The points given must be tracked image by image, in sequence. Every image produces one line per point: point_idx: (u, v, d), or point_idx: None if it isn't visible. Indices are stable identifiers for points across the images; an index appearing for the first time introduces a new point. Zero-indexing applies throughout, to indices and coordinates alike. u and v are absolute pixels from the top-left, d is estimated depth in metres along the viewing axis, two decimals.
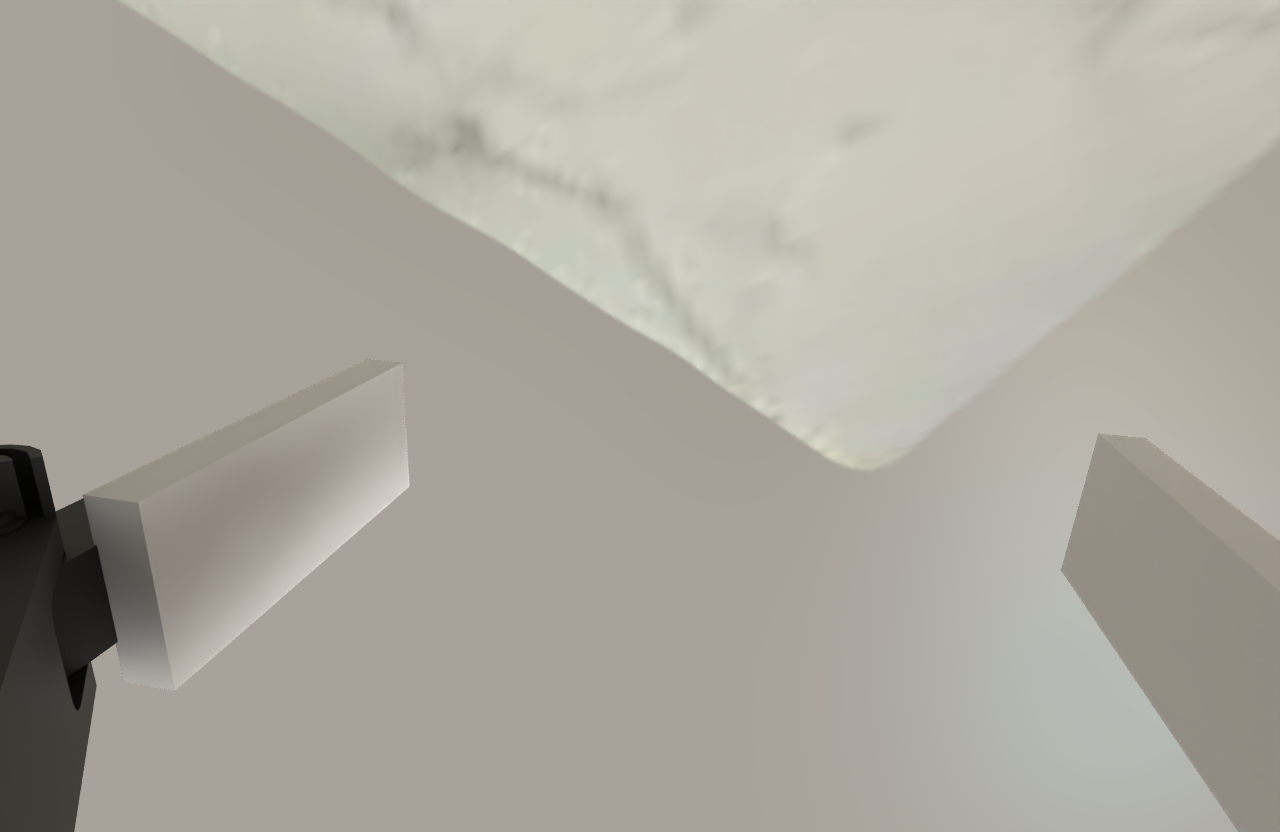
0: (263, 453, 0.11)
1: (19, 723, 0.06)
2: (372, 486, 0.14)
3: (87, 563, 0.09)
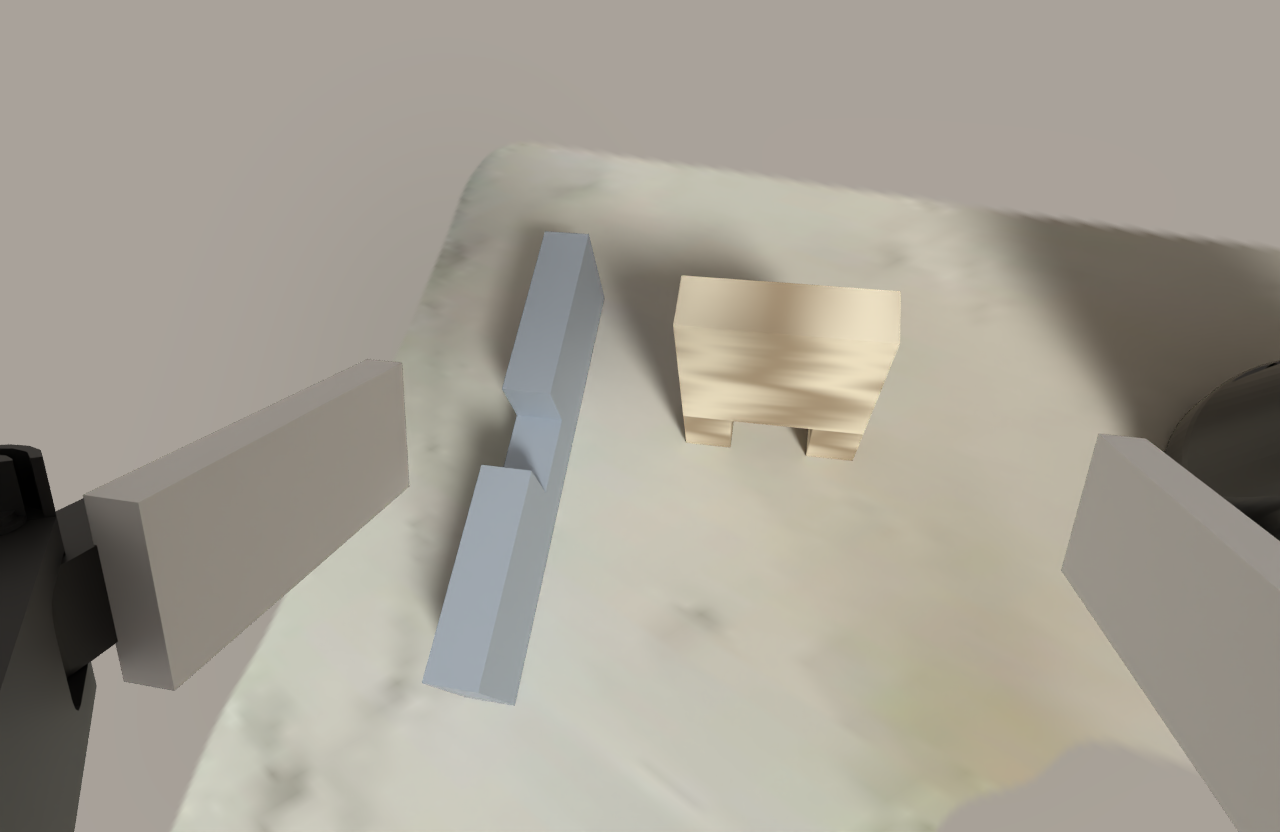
0: (263, 453, 0.11)
1: (18, 723, 0.06)
2: (372, 486, 0.14)
3: (87, 563, 0.09)
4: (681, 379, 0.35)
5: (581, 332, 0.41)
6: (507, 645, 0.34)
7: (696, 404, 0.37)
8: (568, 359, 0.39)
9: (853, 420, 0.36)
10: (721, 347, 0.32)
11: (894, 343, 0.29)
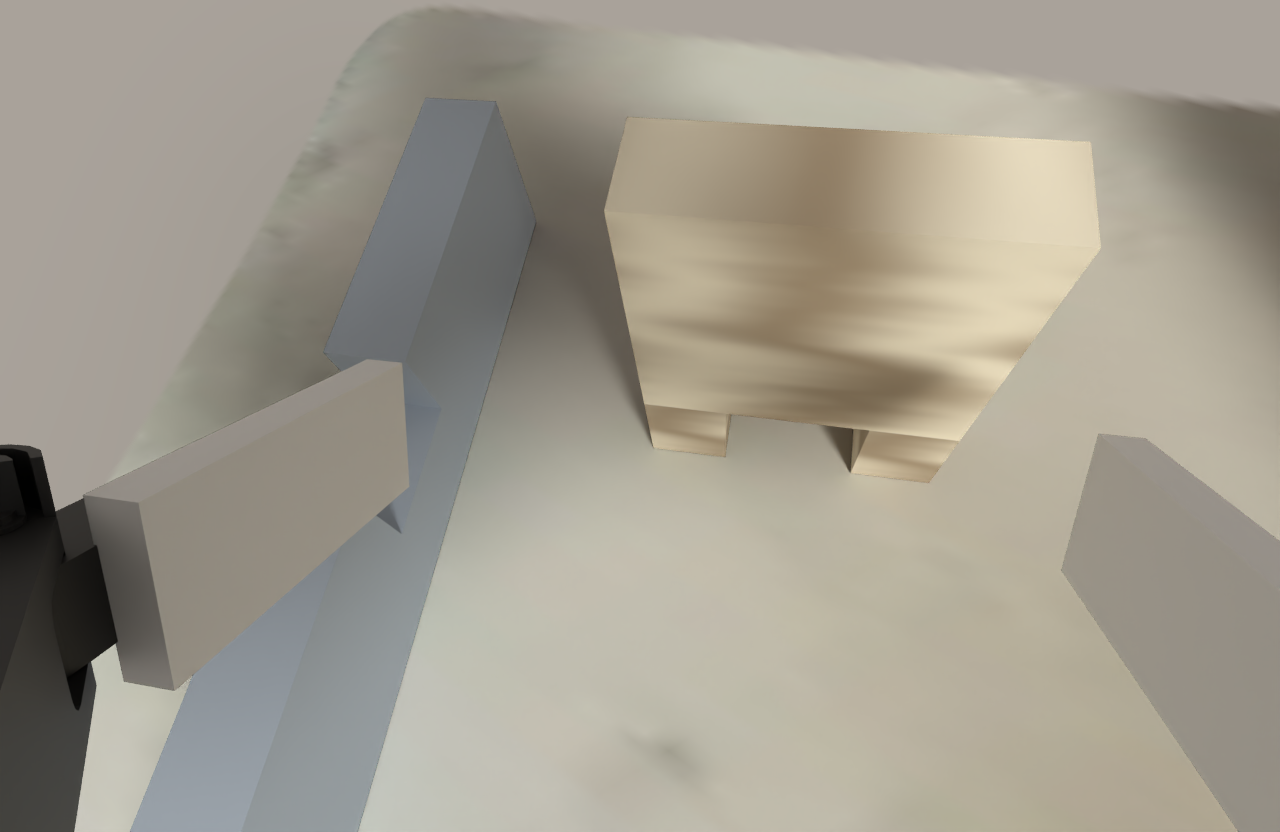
0: (263, 453, 0.11)
1: (19, 723, 0.06)
2: (372, 486, 0.14)
3: (86, 563, 0.09)
4: (634, 336, 0.19)
5: (484, 265, 0.25)
6: (301, 828, 0.18)
7: (665, 384, 0.21)
8: (453, 306, 0.23)
9: (948, 416, 0.20)
10: (705, 264, 0.16)
11: (1088, 247, 0.13)
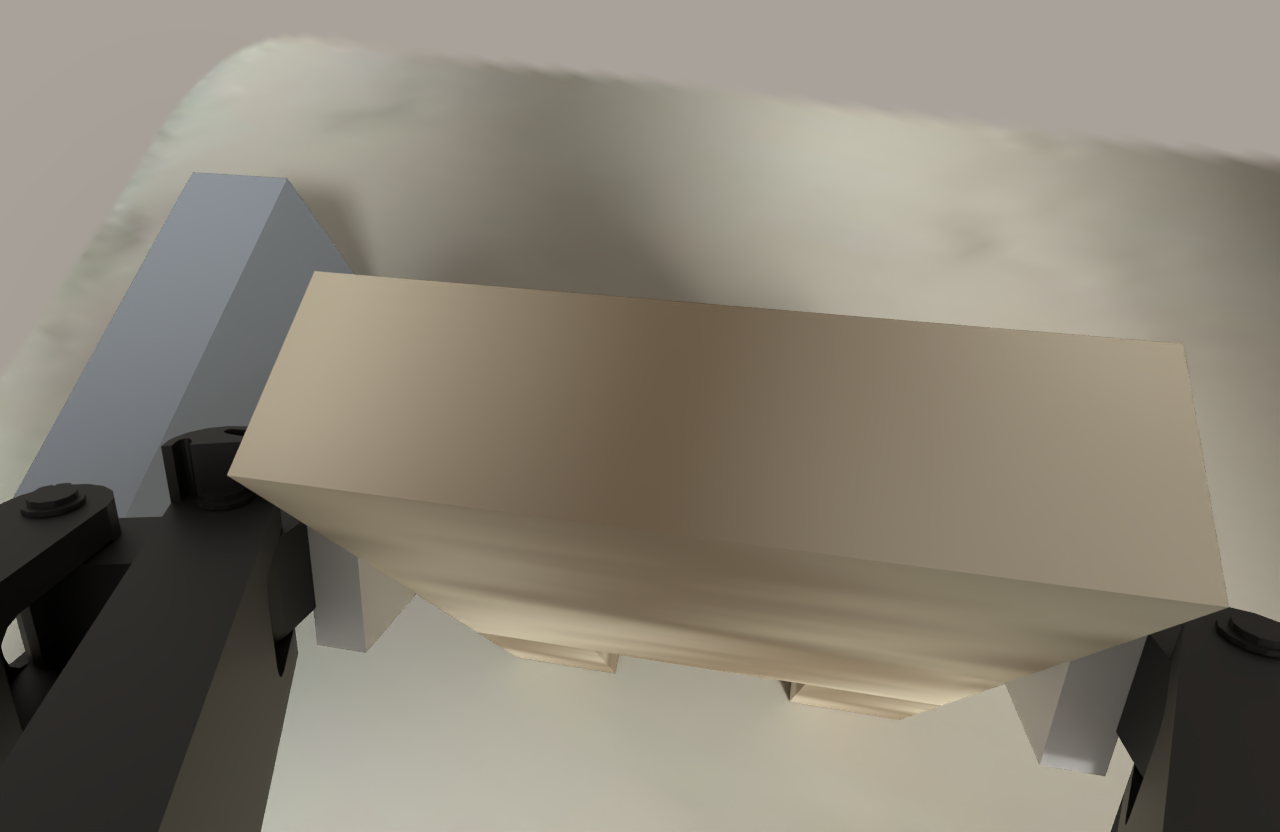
0: None
1: (232, 690, 0.07)
2: None
3: (298, 534, 0.10)
4: (410, 587, 0.12)
5: None
6: None
7: (492, 623, 0.14)
8: None
9: (921, 690, 0.12)
10: (460, 543, 0.08)
11: (1200, 603, 0.06)
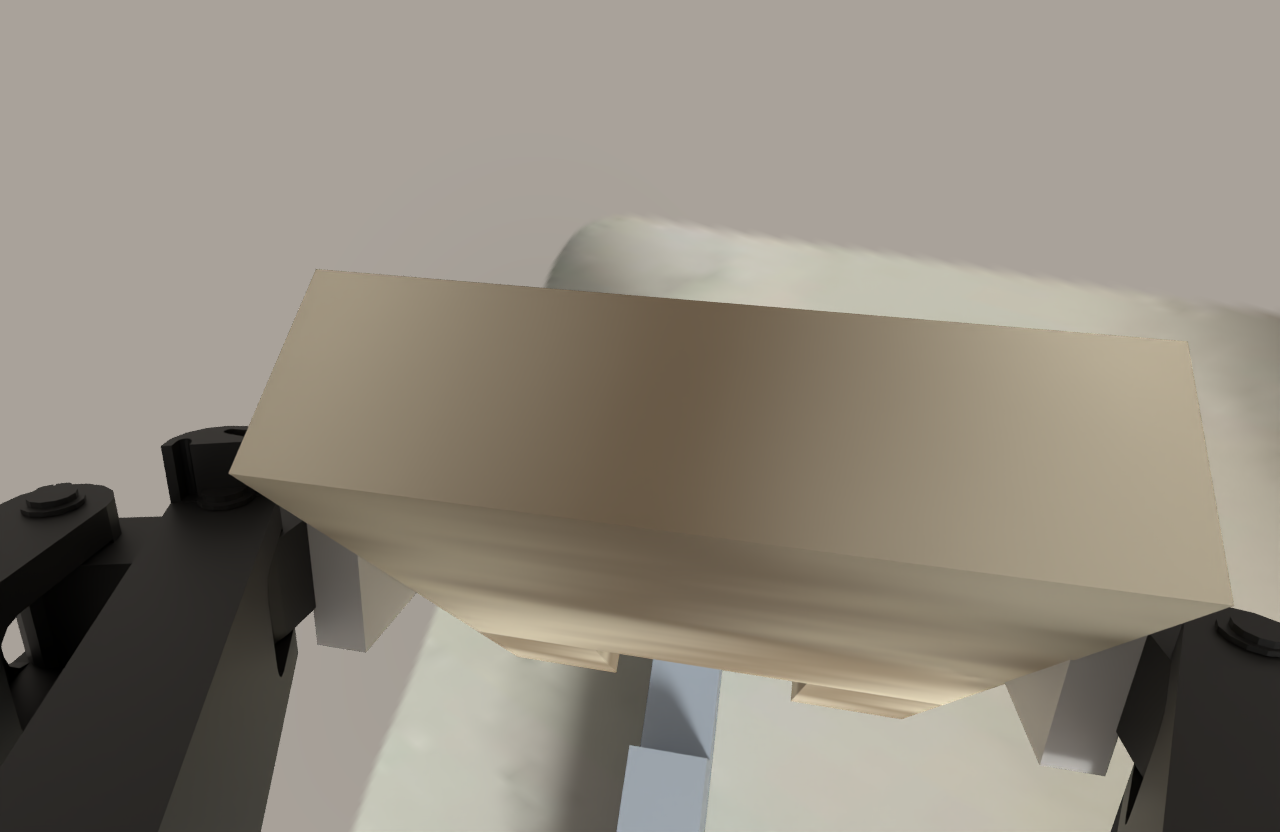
0: None
1: (233, 690, 0.07)
2: None
3: (298, 533, 0.10)
4: (411, 586, 0.12)
5: None
6: None
7: (493, 622, 0.14)
8: None
9: (923, 690, 0.12)
10: (462, 541, 0.08)
11: (1205, 602, 0.06)
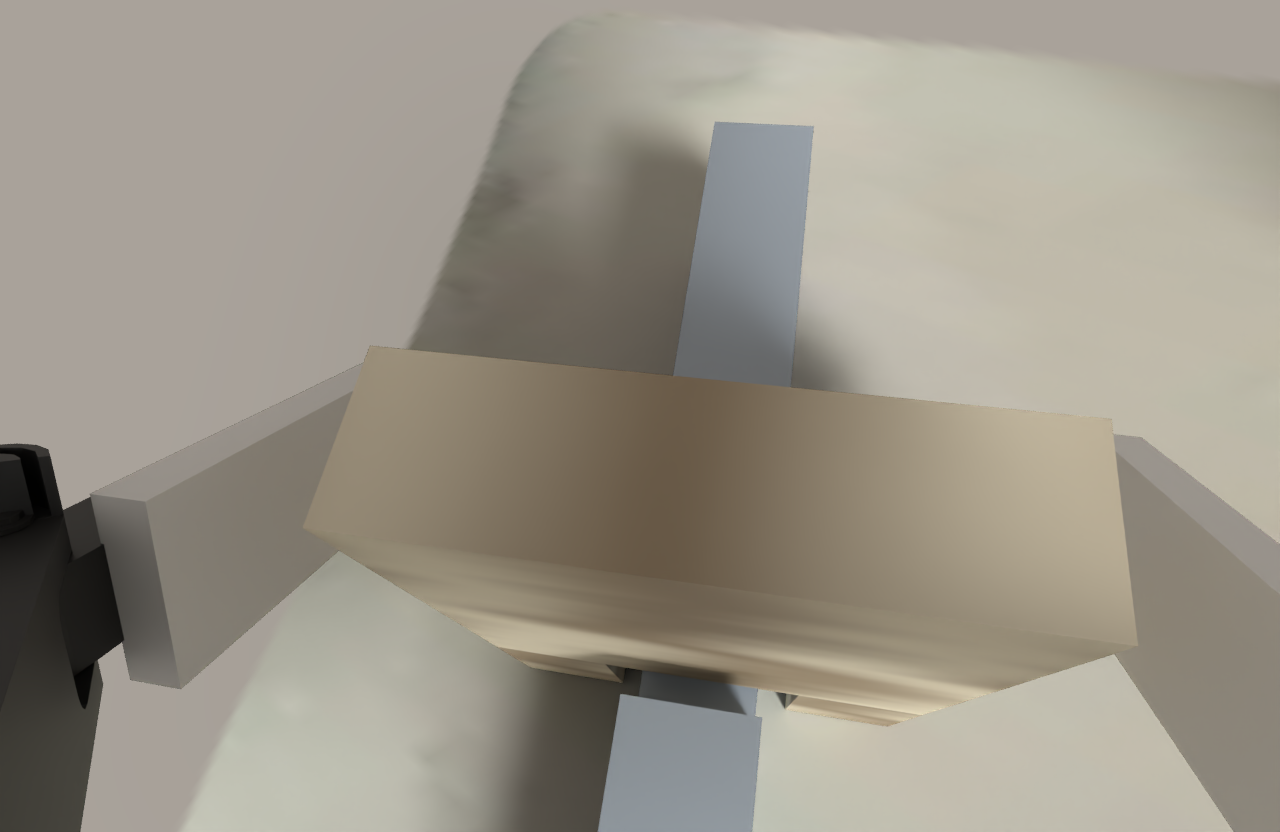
0: (268, 453, 0.11)
1: (26, 722, 0.06)
2: None
3: (94, 562, 0.09)
4: (442, 610, 0.13)
5: None
6: None
7: (513, 640, 0.15)
8: None
9: (902, 702, 0.14)
10: (496, 581, 0.10)
11: (1115, 642, 0.07)
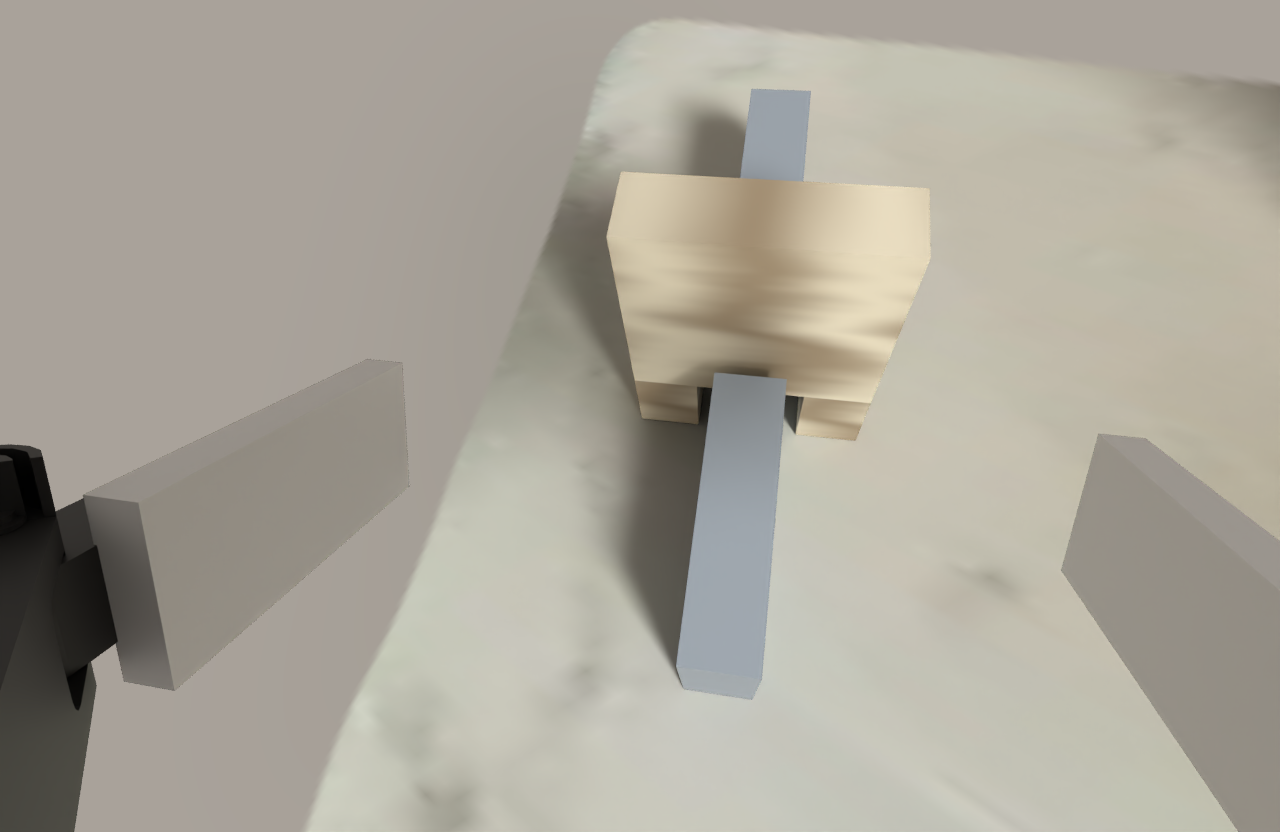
0: (263, 453, 0.11)
1: (19, 723, 0.06)
2: (372, 486, 0.14)
3: (87, 563, 0.09)
4: (626, 325, 0.26)
5: None
6: None
7: (650, 363, 0.28)
8: None
9: (858, 382, 0.27)
10: (676, 271, 0.22)
11: (922, 258, 0.20)
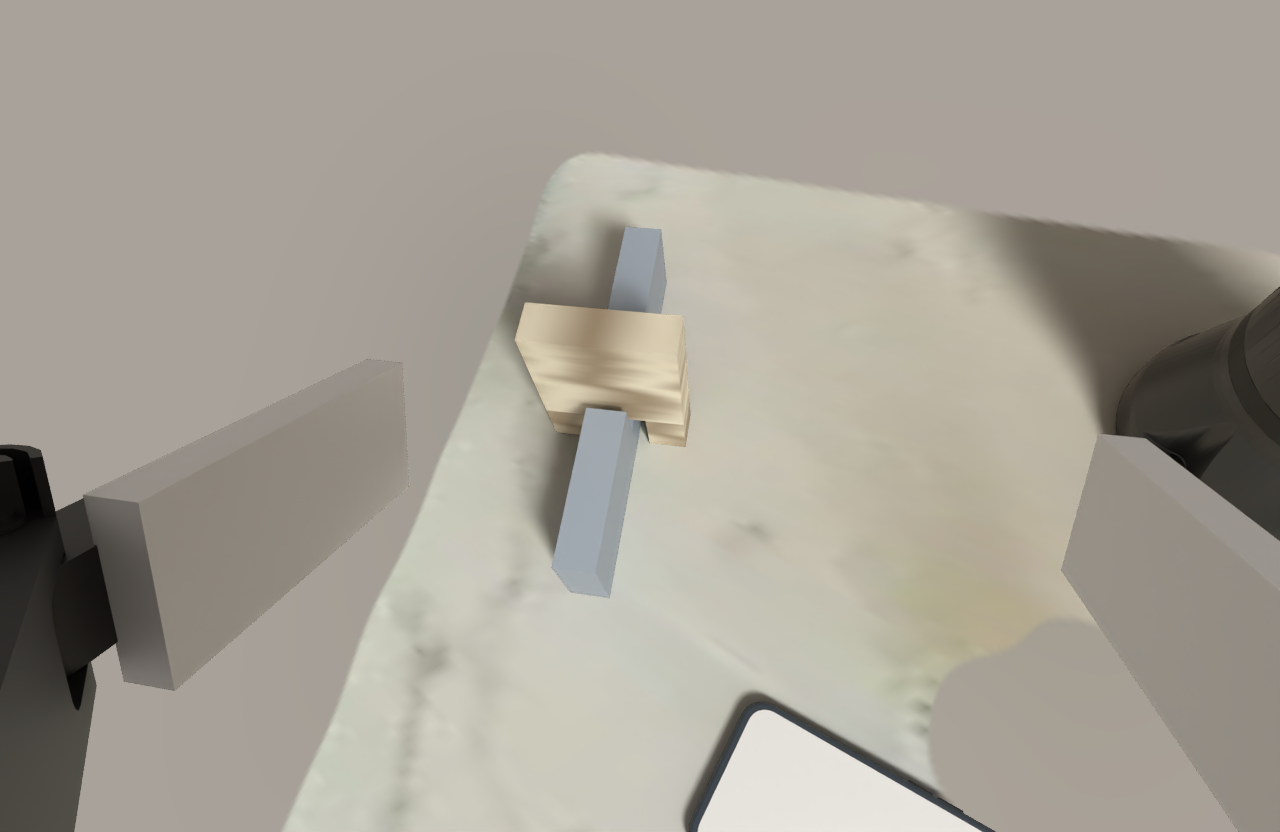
0: (263, 453, 0.11)
1: (19, 723, 0.06)
2: (372, 486, 0.14)
3: (87, 563, 0.09)
4: (535, 381, 0.45)
5: (654, 308, 0.52)
6: (609, 545, 0.44)
7: (553, 401, 0.47)
8: None
9: (671, 413, 0.46)
10: (554, 356, 0.42)
11: (673, 355, 0.39)
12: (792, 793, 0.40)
